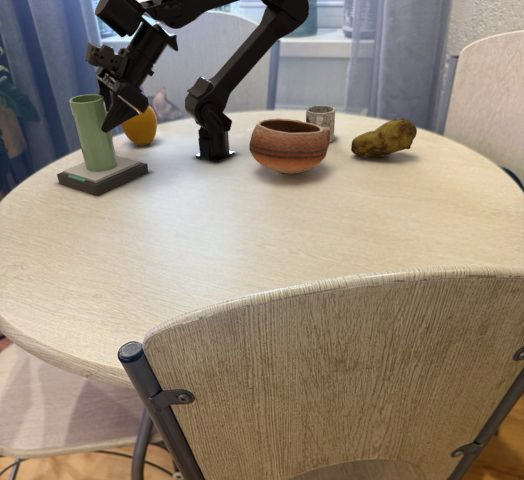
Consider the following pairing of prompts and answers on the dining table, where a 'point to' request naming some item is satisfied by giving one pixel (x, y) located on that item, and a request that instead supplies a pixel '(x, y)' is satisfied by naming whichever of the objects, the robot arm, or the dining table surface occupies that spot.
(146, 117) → the apple
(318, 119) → the mug
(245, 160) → the dining table surface
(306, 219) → the dining table surface
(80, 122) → the tumbler
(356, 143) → the potato
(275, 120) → the bowl
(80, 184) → the scale
